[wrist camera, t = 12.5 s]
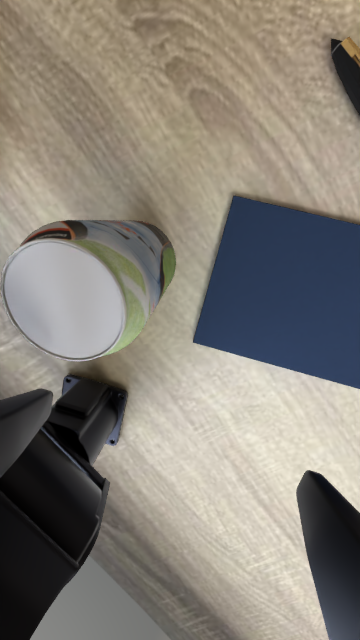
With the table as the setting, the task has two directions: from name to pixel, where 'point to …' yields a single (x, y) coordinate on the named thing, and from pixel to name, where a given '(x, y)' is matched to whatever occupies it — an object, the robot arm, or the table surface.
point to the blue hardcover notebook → (286, 291)
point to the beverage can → (86, 285)
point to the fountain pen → (348, 67)
